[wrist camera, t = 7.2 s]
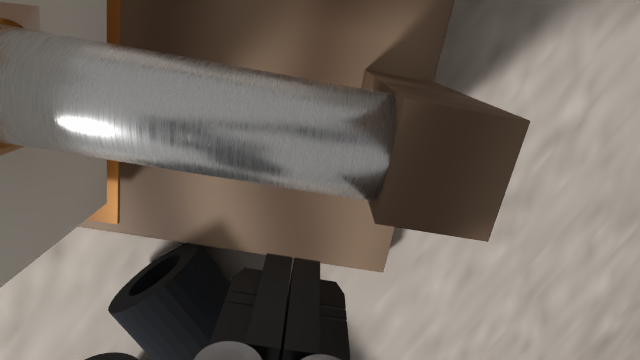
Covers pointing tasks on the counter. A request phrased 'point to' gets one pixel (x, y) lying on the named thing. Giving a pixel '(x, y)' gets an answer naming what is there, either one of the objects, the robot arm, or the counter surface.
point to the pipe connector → (173, 304)
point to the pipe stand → (334, 67)
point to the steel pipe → (192, 115)
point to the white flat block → (48, 154)
